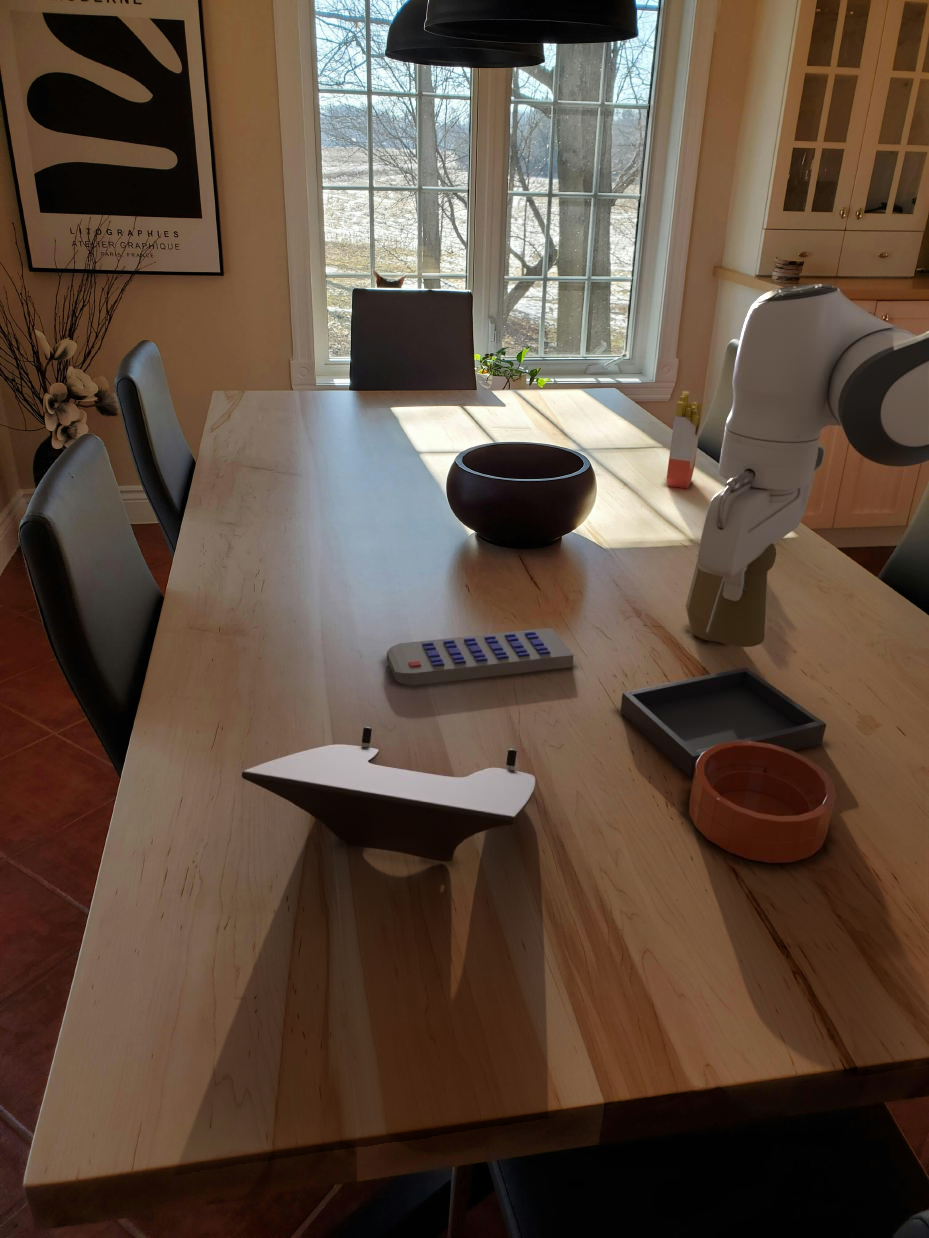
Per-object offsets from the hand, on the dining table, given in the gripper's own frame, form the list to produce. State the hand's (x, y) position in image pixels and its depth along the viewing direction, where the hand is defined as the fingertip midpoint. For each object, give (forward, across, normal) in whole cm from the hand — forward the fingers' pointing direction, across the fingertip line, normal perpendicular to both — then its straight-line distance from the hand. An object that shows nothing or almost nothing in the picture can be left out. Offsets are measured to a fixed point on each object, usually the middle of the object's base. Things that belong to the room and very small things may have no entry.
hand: (743, 588), depth 94 cm
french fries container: (+17, +83, +44) cm, 95 cm away
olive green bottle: (+6, 0, 0) cm, 6 cm away
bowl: (+17, -14, -10) cm, 24 cm away
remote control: (+17, -5, +30) cm, 35 cm away
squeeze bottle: (+17, +22, +10) cm, 30 cm away
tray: (+17, 0, 0) cm, 17 cm away
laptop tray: (+17, -34, +16) cm, 42 cm away
